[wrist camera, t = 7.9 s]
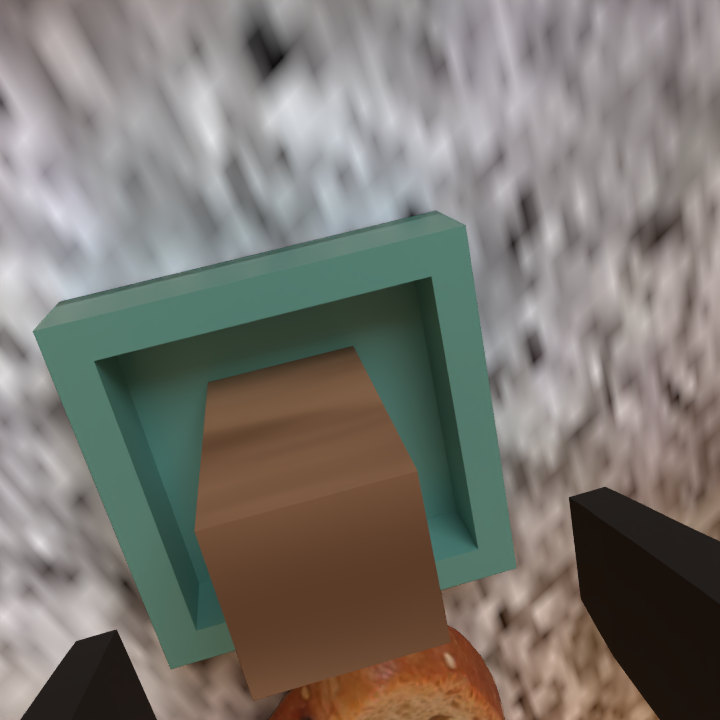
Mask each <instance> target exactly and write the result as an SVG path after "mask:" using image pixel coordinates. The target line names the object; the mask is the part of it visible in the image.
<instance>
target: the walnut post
mask: <svg viewBox="0 0 720 720" xmlns="http://www.w3.org/2000/svg"><path fill="white" fill-rule="evenodd" d="M194 532H195V535H196V537H197V540H198V543H199V546H200V549H201V552H202V555H203V558H204V560H205V563H206V566H207V569H208V572H209V575H210V578H211V581H212V584H213V586H214V589H215V592H216V595H217V598H218V601H219V604H220V607H221V609H222V612H223V615H224V618H225V621H226V624H227V627H228V630H229V632H230V635H231V638H232V641H233V644H234V647H235V650H236V653H237V655H238V658H239V661H240V664H241V667H242V670H243V673H244V676H245V678H246V681H247V684H248V687H249V690H250V693H251V696H252V699H253V701H254V700H258V699H261V698H264V697H268V696H271V695H275V694H278V693H281V692H285V691H288V690H292V689H295V688H298V687H302V686H305V685H308V684H312V683H315V682H319V681H322V680H325V679H329V678H332V677H336V676H339V675H342V674H346V673H349V672H352V671H356V670H359V669H363V668H366V667H369V666H373V665H376V664H380V663H383V662H386V661H390V660H393V659H397V658H400V657H403V656H407V655H410V654H413V653H417V652H420V651H424V650H427V649H430V648H434V647H437V646H441V645H444V644H447V643H451V641H450V636H449V631H448V626H447V621H446V615H445V610H444V605H443V600H442V595H441V590H440V585H439V580H438V574H437V569H436V564H435V559H434V554H433V549H432V544H431V538H430V533H429V528H428V523H427V518H426V513H425V508H424V503H423V497H422V492H421V487H420V482H419V477H418V472H417V469H416V467H415V465H414V463H413V462H412V460H411V458H410V456H409V454H408V452H407V450H406V448H405V446H404V444H403V442H402V440H401V438H400V436H399V434H398V432H397V430H396V428H395V426H394V424H393V422H392V421H391V419H390V417H389V415H388V413H387V411H386V409H385V407H384V405H383V403H382V401H381V399H380V397H379V395H378V393H377V391H376V389H375V387H374V385H373V383H372V382H371V380H370V378H369V376H368V374H367V372H366V370H365V368H364V366H363V364H362V362H361V360H360V358H359V356H358V354H357V352H356V350H355V348H354V346H350V347H346V348H342V349H338V350H334V351H330V352H326V353H322V354H318V355H314V356H310V357H306V358H302V359H298V360H294V361H290V362H286V363H282V364H278V365H274V366H270V367H266V368H262V369H259V370H255V371H251V372H247V373H243V374H239V375H235V376H231V377H227V378H223V379H219V380H215V381H211V382H208V386H207V397H206V408H205V419H204V430H203V441H202V452H201V464H200V475H199V486H198V497H197V508H196V519H195V530H194Z"/></svg>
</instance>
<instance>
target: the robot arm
mask: <svg viewBox="0 0 720 720" xmlns="http://www.w3.org/2000/svg"><path fill="white" fill-rule="evenodd" d="M569 502H570V510H571V519H572V527H573V536H574V544H575V553H576V561H577V570H578V579H579V587H580V596H581V600H582V602H583V603H584V605H585V607H586V609H587V611H588V613H589V614H590V616H591V618H592V620H593V622H594V623H595V625H596V627H597V629H598V631H599V632H600V634H601V636H602V637H603V639H604V641H605V642H606V644H607V646H608V648H609V649H610V651H611V653H612V654H613V656H614V658H615V659H616V660H617V662H618V663H619V664H620V666H621V667H622V669H623V670H624V671H625V673H626V674H627V676H628V677H629V678H630V680H631V681H632V682H633V684H634V685H635V686H636V688H637V689H638V691H639V692H640V693H641V695H642V696H643V697H644V699H645V700H646V701H647V703H648V704H649V706H650V707H651V708H652V710H653V711H654V712H655V714H656V715H657V716H658V718H659V719H660V720H720V541H718V540H716V539H713V538H711V537H709V536H707V535H705V534H703V533H700V532H698V531H696V530H694V529H692V528H690V527H688V526H686V525H684V524H682V523H680V522H677V521H675V520H673V519H671V518H669V517H667V516H665V515H663V514H661V513H659V512H657V511H655V510H653V509H651V508H649V507H647V506H645V505H643V504H641V503H639V502H637V501H634V500H632V499H630V498H628V497H626V496H624V495H622V494H620V493H618V492H616V491H613V490H611V489H609V488H607V487H603V488H599V489H596V490H593V491H589V492H586V493H582V494H579V495H575V496H572V497H569ZM21 720H157V719H156V717H155V714H154V712H153V710H152V708H151V705H150V703H149V701H148V699H147V696H146V694H145V692H144V690H143V687H142V685H141V683H140V681H139V679H138V676H137V674H136V672H135V670H134V667H133V665H132V663H131V661H130V658H129V656H128V654H127V652H126V649H125V647H124V645H123V643H122V640H121V638H120V636H119V634H118V631H117V630H113V631H110V632H106V633H103V634H100V635H96V636H93V637H89V638H86V639H82V640H79V641H76V642H75V644H74V645H73V646H72V648H71V649H70V650H69V652H68V653H67V654H66V656H65V657H64V658H63V660H62V661H61V663H60V664H59V665H58V667H57V668H56V670H55V671H54V672H53V674H52V675H51V677H50V678H49V680H48V681H47V683H46V684H45V685H44V687H43V688H42V690H41V691H40V693H39V694H38V695H37V697H36V698H35V700H34V701H33V703H32V704H31V705H30V707H29V708H28V710H27V711H26V713H25V714H24V715H23V717H22V718H21Z"/></svg>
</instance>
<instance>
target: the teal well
mask: <svg viewBox="0 0 720 720" xmlns="http://www.w3.org/2000/svg"><path fill="white" fill-rule="evenodd" d="M33 333H34V335H35V338H36V340H37V343H38V345H39V348H40V350H41V353H42V355H43V357H44V360H45V362H46V365H47V367H48V370H49V372H50V375H51V377H52V380H53V382H54V384H55V387H56V389H57V392H58V394H59V397H60V399H61V402H62V404H63V406H64V409H65V411H66V414H67V416H68V419H69V421H70V424H71V426H72V429H73V431H74V433H75V436H76V438H77V441H78V443H79V446H80V448H81V451H82V453H83V456H84V458H85V460H86V463H87V465H88V468H89V470H90V473H91V475H92V478H93V480H94V482H95V485H96V487H97V490H98V492H99V495H100V497H101V500H102V502H103V505H104V507H105V509H106V512H107V514H108V517H109V519H110V522H111V524H112V527H113V529H114V531H115V534H116V536H117V539H118V541H119V544H120V546H121V549H122V551H123V554H124V556H125V558H126V561H127V563H128V566H129V568H130V571H131V573H132V576H133V578H134V581H135V583H136V585H137V588H138V590H139V593H140V595H141V598H142V600H143V603H144V605H145V607H146V610H147V612H148V615H149V617H150V620H151V622H152V625H153V627H154V630H155V632H156V634H157V637H158V639H159V642H160V644H161V647H162V649H163V652H164V654H165V656H166V659H167V661H168V664H169V666H170V669H174V668H177V667H180V666H184V665H187V664H191V663H194V662H197V661H201V660H204V659H208V658H211V657H215V656H218V655H221V654H225V653H228V652H232V651H235V647H234V644H233V641H232V638H231V635H230V632H229V630H228V627H227V624H226V621H225V618H224V615H223V612H222V609H221V607H220V604H219V601H218V598H217V595H216V592H215V589H214V586H213V584H212V581H211V578H210V575H209V572H208V569H207V566H206V563H205V560H204V558H203V555H202V552H201V549H200V546H199V543H198V540H197V537H196V535H195V532H194V530H195V519H196V508H197V497H198V486H199V475H200V464H201V452H202V441H203V430H204V419H205V408H206V397H207V386H208V382H211V381H215V380H219V379H223V378H227V377H231V376H235V375H239V374H243V373H247V372H251V371H255V370H259V369H262V368H266V367H270V366H274V365H278V364H282V363H286V362H290V361H294V360H298V359H302V358H306V357H310V356H314V355H318V354H322V353H326V352H330V351H334V350H338V349H342V348H346V347H350V346H354V348H355V350H356V352H357V354H358V356H359V358H360V360H361V362H362V364H363V366H364V368H365V370H366V372H367V374H368V376H369V378H370V380H371V382H372V383H373V385H374V387H375V389H376V391H377V393H378V395H379V397H380V399H381V401H382V403H383V405H384V407H385V409H386V411H387V413H388V415H389V417H390V419H391V421H392V422H393V424H394V426H395V428H396V430H397V432H398V434H399V436H400V438H401V440H402V442H403V444H404V446H405V448H406V450H407V452H408V454H409V456H410V458H411V460H412V462H413V463H414V465H415V467H416V469H417V472H418V477H419V482H420V487H421V492H422V497H423V503H424V508H425V513H426V518H427V523H428V528H429V533H430V538H431V544H432V549H433V554H434V559H435V564H436V569H437V574H438V580H439V585H440V590H443V589H447V588H450V587H453V586H457V585H460V584H464V583H467V582H470V581H474V580H477V579H481V578H484V577H487V576H491V575H494V574H498V573H501V572H505V571H508V570H511V569H515V568H516V561H515V554H514V548H513V541H512V534H511V528H510V521H509V514H508V507H507V501H506V494H505V487H504V481H503V474H502V467H501V460H500V454H499V447H498V440H497V434H496V427H495V420H494V413H493V407H492V400H491V393H490V387H489V380H488V373H487V366H486V360H485V353H484V346H483V340H482V333H481V326H480V319H479V313H478V306H477V299H476V293H475V286H474V279H473V272H472V266H471V259H470V252H469V246H468V239H467V232H466V225H464V224H462V223H460V222H458V221H456V220H454V219H452V218H450V217H448V216H446V215H444V214H442V213H440V212H438V211H432V212H428V213H424V214H420V215H416V216H412V217H408V218H404V219H399V220H395V221H391V222H387V223H383V224H379V225H375V226H370V227H366V228H362V229H358V230H354V231H350V232H346V233H342V234H337V235H333V236H329V237H325V238H321V239H317V240H313V241H309V242H304V243H300V244H296V245H292V246H288V247H284V248H280V249H276V250H271V251H267V252H263V253H259V254H255V255H251V256H247V257H242V258H238V259H234V260H230V261H226V262H222V263H218V264H214V265H209V266H205V267H201V268H197V269H193V270H189V271H185V272H181V273H176V274H172V275H168V276H164V277H160V278H156V279H152V280H148V281H143V282H139V283H135V284H131V285H127V286H123V287H119V288H114V289H110V290H106V291H102V292H98V293H94V294H90V295H86V296H81V297H77V298H73V299H69V300H65V301H61V302H59V303H58V304H57V305H56V306H55V307H54V308H53V309H52V310H51V312H50V313H49V314H48V315H47V316H46V317H45V318H44V319H43V320H42V322H41V323H40V324H39V325H38V326H37V327H36V328H35V329H34V330H33Z"/></svg>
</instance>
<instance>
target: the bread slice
mask: <svg viewBox="0 0 720 720" xmlns="http://www.w3.org/2000/svg"><path fill="white" fill-rule="evenodd" d="M447 626H448V625H447ZM448 631H449V636H450V641H451V643H447V644H444V645H441V646H437V647H434V648H430V649H427V650H424V651H420V652H417V653H413V654H410V655H407V656H403V657H400V658H397V659H393V660H390V661H386V662H383V663H380V664H376V665H373V666H369V667H366V668H363V669H359V670H356V671H352V672H349V673H346V674H342V675H339V676H336V677H332V678H329V679H325V680H322V681H319V682H315V683H312V684H308V685H305V686H302V687H298V688H295V689H292V690H289V691H288V692H287V693H286V694H285V695H284V697H283V699H282V700H281V702H280V704H279V706H278V707H277V709H276V710H275V712H274V713H273V714H272V716H271V717H270V718H269V719H268V720H505V717H504V711H503V707H502V703H501V700H500V696H499V693H498V690H497V687H496V684H495V681H494V679H493V676H492V674H491V673H490V671H489V669H488V668H487V666H486V664H485V662H484V660H483V659H482V657H481V655H480V654H479V653H478V652H477V651H476V649H475V648H474V647H473V646H472V645H471V644H470V642H469V641H468V640H467V639H466V638H465V637H464V636H463V635H462V634H461V633H460V632H458V631H457V630H456V629H454V628H452V627H450V626H448Z"/></svg>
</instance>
